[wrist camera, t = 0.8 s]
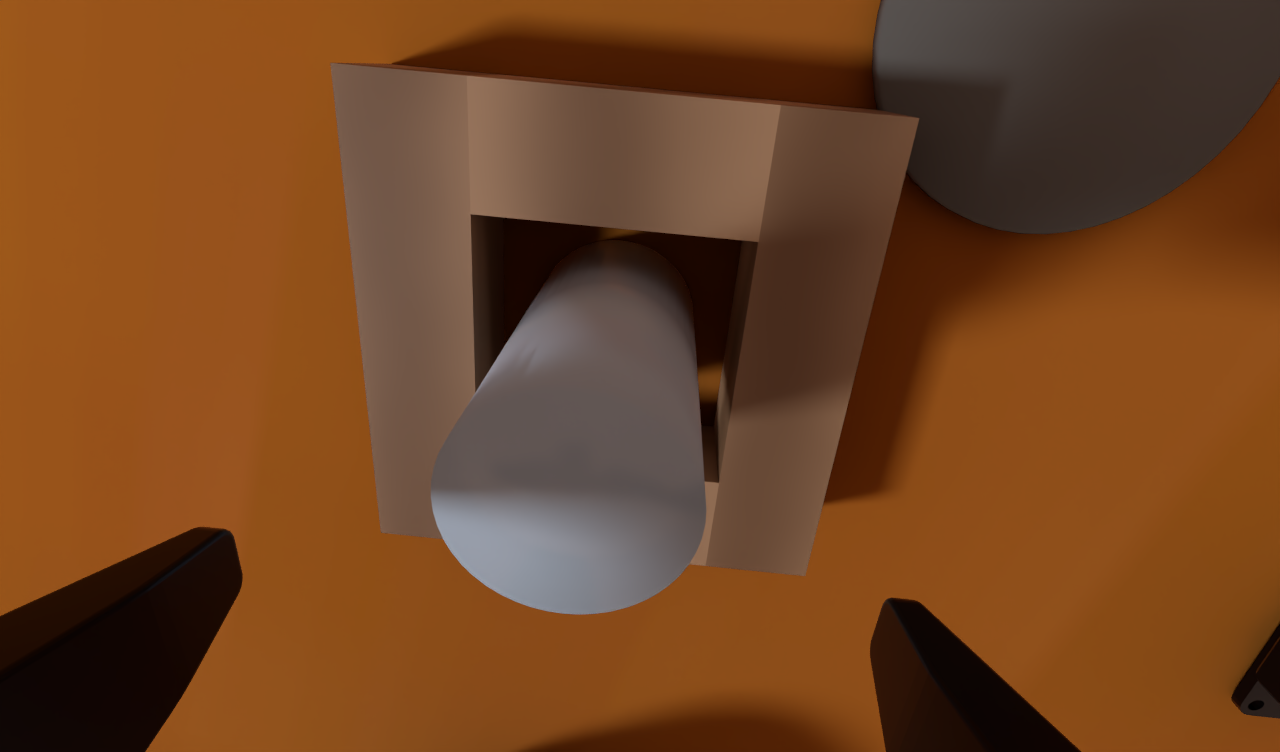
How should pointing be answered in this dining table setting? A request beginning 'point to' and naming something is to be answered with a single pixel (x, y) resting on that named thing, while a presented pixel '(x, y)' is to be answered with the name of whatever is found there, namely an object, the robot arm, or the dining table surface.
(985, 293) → the dining table surface
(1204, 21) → the coaster
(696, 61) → the dining table surface
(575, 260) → the grey rounded cylinder
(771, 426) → the frame
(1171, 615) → the dining table surface
